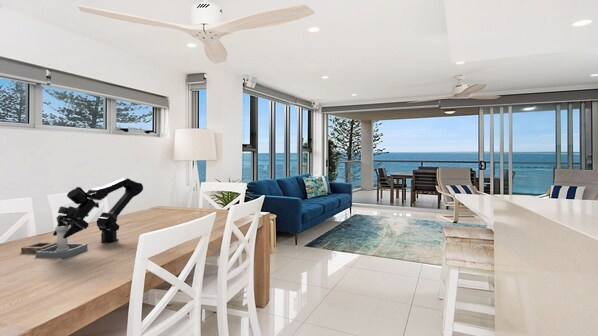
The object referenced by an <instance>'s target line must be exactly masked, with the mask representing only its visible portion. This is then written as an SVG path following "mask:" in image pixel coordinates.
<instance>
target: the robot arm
mask: <svg viewBox="0 0 598 336" xmlns="http://www.w3.org/2000/svg"><path fill="white" fill-rule="evenodd" d="M122 188H125V190H124V193H123V195H122V196H121V197H120V199H118V201H117V202H116V203H115V204H114V205H113V207H111V209H110V210H109V211H108V212H102V213H100V215H99V216H98V217H97V220H96V226H97V227H98V229H99V231H101V234H100V236H101V237H100V239H101V242H100V241H99V243H100V244H101V243H103V244H107V243H108V244H112V243H114V242H116V241H119V238H117V237H118V235H117V231H119V229H120V225H119V224H118V223H117V221H118V216H120V214H121V212H123V210H124V209H125V208H126V207H127V205H128V204H129V203H130V202H131V200H132V199H133V198H134V197H137V196H138V195H140V194H141V193H142V192H143V191H144V185H143V184H142V183H141V182H137V181H134V180H131V179H130V178H127V177H123V178H120V179H118V180H115V181H113V182H111V183H108V184H106V185H103V186H100V187H93V188H90V189H88V190H87V191H85V190H83V188H82V187H80V186H76V187H75V188H74V189H73V188H72V190H70V191H68V193H67V194H66V197H67V198H68V199H70V200H71V201H72V202H73V203H74V204H76V205H78V206H77V207H74V206H71V205H70V206H68V207H66V206H59V209H58V211H57V213H58V214H59V215H58V216H56V221H57V226H56V227H58V226H68V230H67V232H66V233H65V235H64V236H63V238H69V237H71V236H73V235H74V234H77V233H78V232H81V231H83V230H87V228H88V227H89V223H88V222H87V220H85V217H89V216H90V215H89V214H90V212H91V211H92V210H93V209H94V208H98V209H99V208H100V204H99V202H98V201H102V200H104V199H105V198H106V197H108V195H109V194H110V193H113V192H115V191H118V190H119V189H122ZM52 235H53V236H54V237H57V232H56V230H55V229H54V232H53V233H52Z"/></svg>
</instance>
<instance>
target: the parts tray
mask: <svg viewBox="0 0 598 336" xmlns="http://www.w3.org/2000/svg"><path fill="white" fill-rule="evenodd" d="M68 247H69V251H66V252H57V251H56V249H57V245H54V246H51V247H49V248H46V249H43V250H40V251H37V252H36V253H35V258H60V260H61V259H62V260H64V259H65V260H66V259H68V258H70V257H72V256H75V255H77V254H80V253H83V252H85V251H87V250H88V243H70V242H68Z"/></svg>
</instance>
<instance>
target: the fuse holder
mask: <svg viewBox="0 0 598 336" xmlns="http://www.w3.org/2000/svg"><path fill="white" fill-rule="evenodd" d="M54 245H57V241H55V242H53V241H39V242H35V243H32V244H28V245H26V246H23V247H20V249H21V250H20V251H21V252H20V253H22V254H36V252H37V251H40V250H43V249H46V248H49V247H51V246H54Z"/></svg>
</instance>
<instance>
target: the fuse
mask: <svg viewBox="0 0 598 336" xmlns="http://www.w3.org/2000/svg"><path fill="white" fill-rule="evenodd" d="M68 229H69V227H68V226H58V227H57V226H56V227H55V229H54V231H55V230H56V232H57V235H56V242H57V249H56V251H57V252H66V251H69V247H68V243H69V239H68V238H69V237H67V238H63V236H64V235H65V233H66V232H67V231H68Z"/></svg>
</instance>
